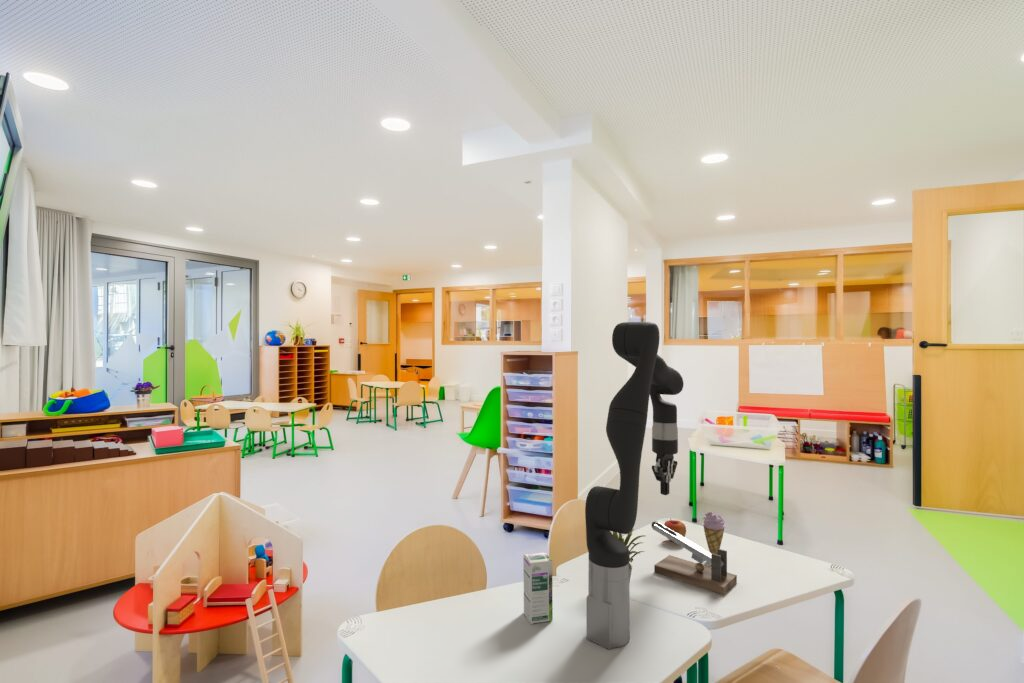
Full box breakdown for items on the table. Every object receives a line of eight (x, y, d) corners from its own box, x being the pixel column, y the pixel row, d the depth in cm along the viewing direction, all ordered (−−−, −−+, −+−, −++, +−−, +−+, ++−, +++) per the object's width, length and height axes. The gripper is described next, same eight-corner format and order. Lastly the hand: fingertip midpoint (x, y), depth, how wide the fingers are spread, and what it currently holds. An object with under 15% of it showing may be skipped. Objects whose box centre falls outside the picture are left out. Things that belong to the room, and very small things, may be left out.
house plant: (661, 595, 129) (661, 533, 129) (620, 607, 123) (620, 542, 123) (625, 573, 142) (625, 517, 142) (587, 583, 135) (587, 524, 136)
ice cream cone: (697, 556, 155) (697, 508, 155) (712, 552, 157) (711, 506, 158) (714, 564, 149) (714, 515, 149) (729, 560, 151) (728, 512, 152)
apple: (690, 544, 164) (690, 521, 164) (670, 546, 162) (670, 522, 163) (678, 536, 171) (678, 514, 171) (659, 538, 170) (659, 515, 170)
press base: (723, 594, 129) (723, 560, 130) (654, 571, 143) (654, 541, 143) (736, 582, 137) (736, 550, 137) (669, 561, 150) (669, 532, 151)
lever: (718, 574, 134) (721, 563, 133) (647, 531, 149) (650, 521, 148) (722, 570, 136) (725, 559, 135) (652, 528, 151) (655, 518, 150)
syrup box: (530, 625, 114) (530, 562, 115) (522, 612, 120) (523, 553, 120) (552, 621, 116) (553, 560, 116) (544, 609, 121) (544, 550, 122)
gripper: (666, 441, 140) (666, 501, 139) (685, 436, 150) (686, 492, 149) (643, 438, 145) (643, 496, 144) (663, 433, 155) (663, 487, 154)
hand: (664, 494), depth 147 cm, fingers closed
